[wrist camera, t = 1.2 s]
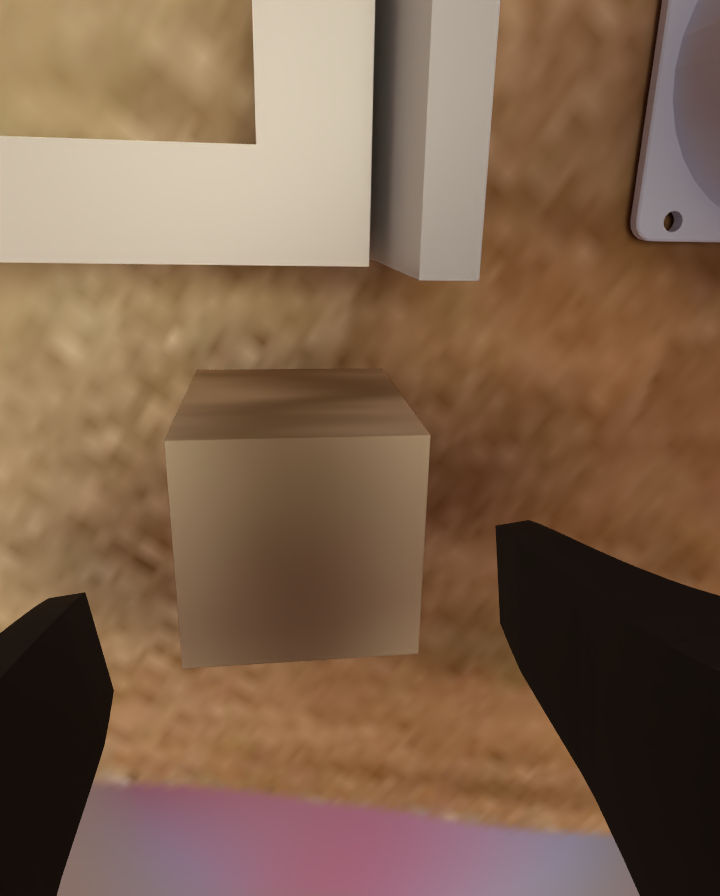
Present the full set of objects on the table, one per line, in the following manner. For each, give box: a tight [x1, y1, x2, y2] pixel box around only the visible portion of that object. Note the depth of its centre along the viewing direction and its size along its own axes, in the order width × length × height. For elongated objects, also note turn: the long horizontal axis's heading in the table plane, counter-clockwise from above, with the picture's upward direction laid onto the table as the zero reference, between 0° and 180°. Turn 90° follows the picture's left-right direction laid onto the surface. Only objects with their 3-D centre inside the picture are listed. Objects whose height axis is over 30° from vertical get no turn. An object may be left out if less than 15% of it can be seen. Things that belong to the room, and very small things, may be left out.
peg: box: [164, 369, 431, 669], centre depth 16 cm, size 5×5×6 cm
